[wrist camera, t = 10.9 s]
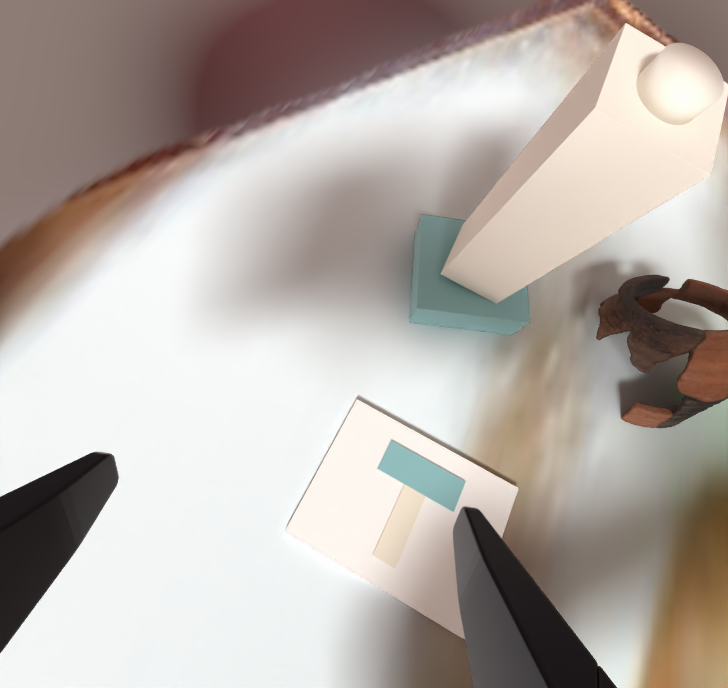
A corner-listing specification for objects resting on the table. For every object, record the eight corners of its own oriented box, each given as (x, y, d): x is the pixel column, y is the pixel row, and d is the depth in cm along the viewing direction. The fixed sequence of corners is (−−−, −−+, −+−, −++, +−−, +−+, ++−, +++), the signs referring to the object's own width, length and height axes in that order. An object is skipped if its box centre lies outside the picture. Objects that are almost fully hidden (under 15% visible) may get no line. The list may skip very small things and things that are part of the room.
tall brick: (496, 303, 24) (741, 156, 10) (440, 274, 23) (617, 84, 10) (515, 253, 25) (758, 63, 11) (462, 224, 25) (647, -4, 11)
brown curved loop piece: (578, 425, 24) (630, 340, 19) (558, 341, 31) (592, 260, 26) (787, 460, 21) (919, 370, 16) (715, 359, 28) (791, 272, 23)
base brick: (508, 337, 26) (529, 322, 23) (408, 324, 26) (416, 308, 23) (505, 250, 29) (523, 227, 26) (413, 238, 28) (421, 214, 26)
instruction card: (516, 487, 22) (519, 488, 22) (465, 638, 19) (467, 642, 19) (356, 399, 23) (356, 398, 23) (285, 530, 20) (284, 531, 20)
